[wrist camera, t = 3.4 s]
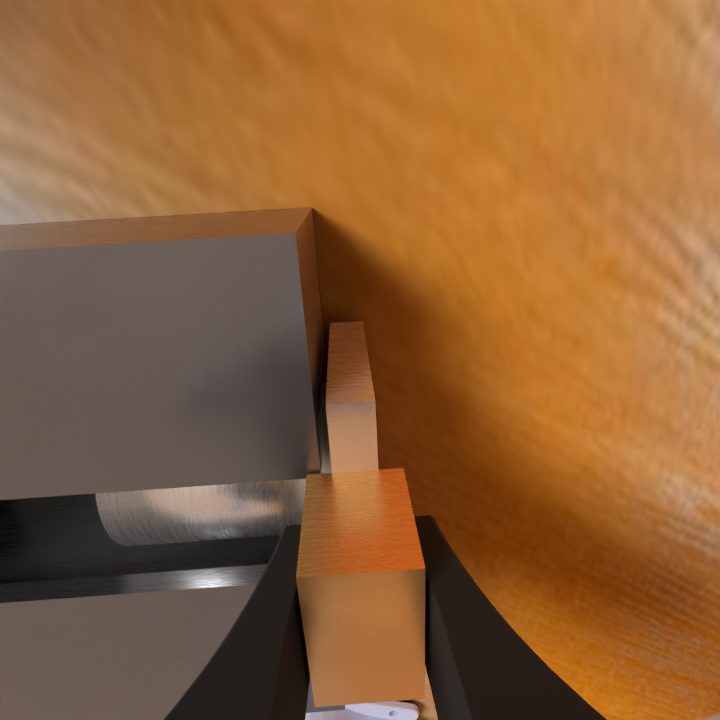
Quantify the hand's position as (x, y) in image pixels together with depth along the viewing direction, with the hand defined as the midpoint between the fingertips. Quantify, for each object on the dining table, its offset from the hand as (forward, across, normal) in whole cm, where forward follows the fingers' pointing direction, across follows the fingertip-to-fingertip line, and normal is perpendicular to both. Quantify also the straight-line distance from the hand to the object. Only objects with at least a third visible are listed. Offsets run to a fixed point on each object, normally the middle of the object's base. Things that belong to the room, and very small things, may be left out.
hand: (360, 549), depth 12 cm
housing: (+7, +9, 0) cm, 11 cm away
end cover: (+7, +3, 0) cm, 7 cm away
